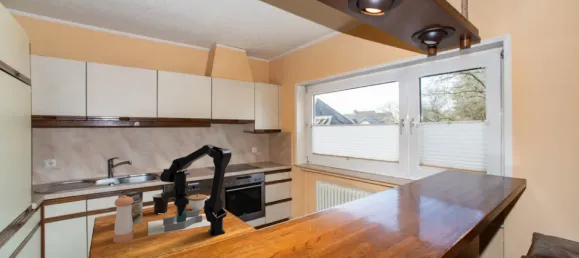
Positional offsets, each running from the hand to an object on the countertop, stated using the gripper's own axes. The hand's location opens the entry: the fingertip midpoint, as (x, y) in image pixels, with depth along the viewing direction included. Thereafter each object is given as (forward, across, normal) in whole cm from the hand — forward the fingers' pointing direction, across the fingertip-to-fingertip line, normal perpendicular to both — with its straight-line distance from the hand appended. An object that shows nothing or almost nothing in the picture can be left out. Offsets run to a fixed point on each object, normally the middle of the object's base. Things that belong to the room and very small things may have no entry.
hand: (179, 214), depth 125 cm
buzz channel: (+6, -2, +2) cm, 7 cm away
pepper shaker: (+6, +6, -23) cm, 24 cm away
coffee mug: (+6, -26, -7) cm, 27 cm away
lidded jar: (+6, -23, +13) cm, 27 cm away
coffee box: (+6, -14, -22) cm, 26 cm away
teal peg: (+4, 0, +1) cm, 4 cm away
